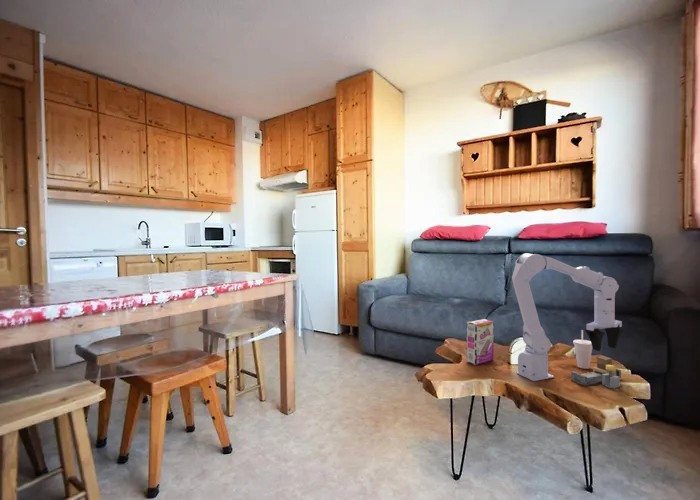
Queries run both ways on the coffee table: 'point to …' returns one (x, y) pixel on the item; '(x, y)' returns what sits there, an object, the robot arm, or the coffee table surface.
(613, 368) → the gauge button
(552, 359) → the coffee table surface
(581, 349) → the smoothie
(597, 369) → the carriage
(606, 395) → the coffee table surface
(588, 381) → the rail
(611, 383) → the post
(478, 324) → the candy bar box
